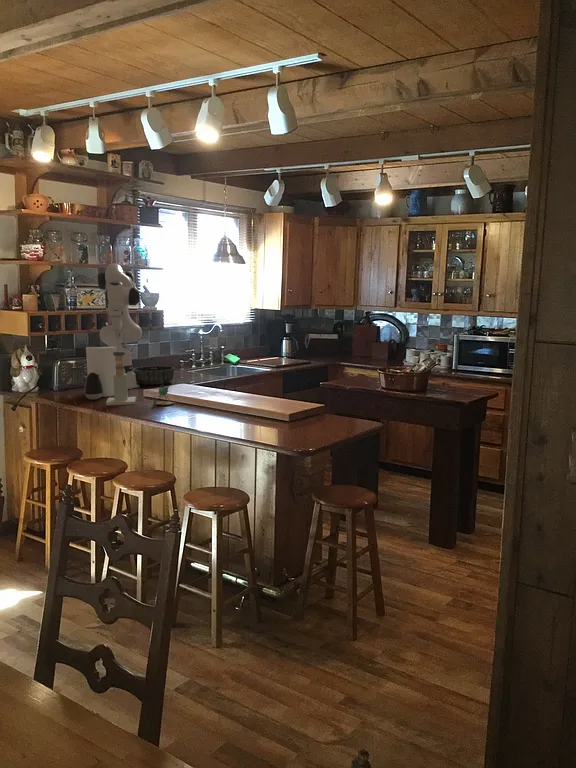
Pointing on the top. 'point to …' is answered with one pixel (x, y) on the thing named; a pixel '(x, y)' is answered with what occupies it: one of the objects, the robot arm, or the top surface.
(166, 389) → the frog figurine
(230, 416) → the top surface
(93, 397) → the dark grey egg shape
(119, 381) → the stand base
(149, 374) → the bundt pan
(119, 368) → the column
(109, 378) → the white tall block
